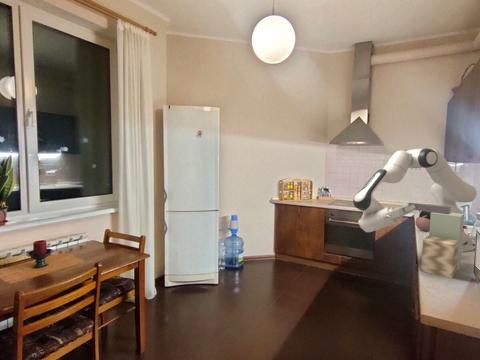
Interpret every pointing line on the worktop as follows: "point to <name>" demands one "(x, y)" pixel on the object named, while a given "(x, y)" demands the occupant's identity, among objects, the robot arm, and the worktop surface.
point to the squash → (425, 214)
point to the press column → (448, 229)
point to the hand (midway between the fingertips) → (416, 205)
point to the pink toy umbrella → (423, 223)
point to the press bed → (439, 256)
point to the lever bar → (432, 208)
